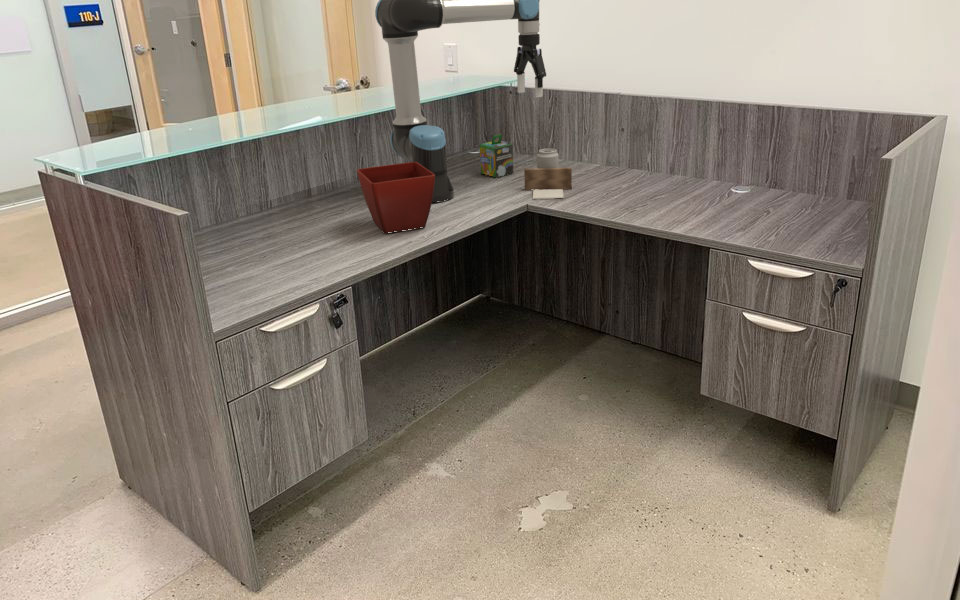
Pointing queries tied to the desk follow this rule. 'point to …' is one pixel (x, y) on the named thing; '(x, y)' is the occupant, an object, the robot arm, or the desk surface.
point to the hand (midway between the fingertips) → (529, 94)
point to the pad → (548, 194)
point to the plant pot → (398, 195)
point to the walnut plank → (548, 178)
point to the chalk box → (496, 157)
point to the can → (547, 158)
